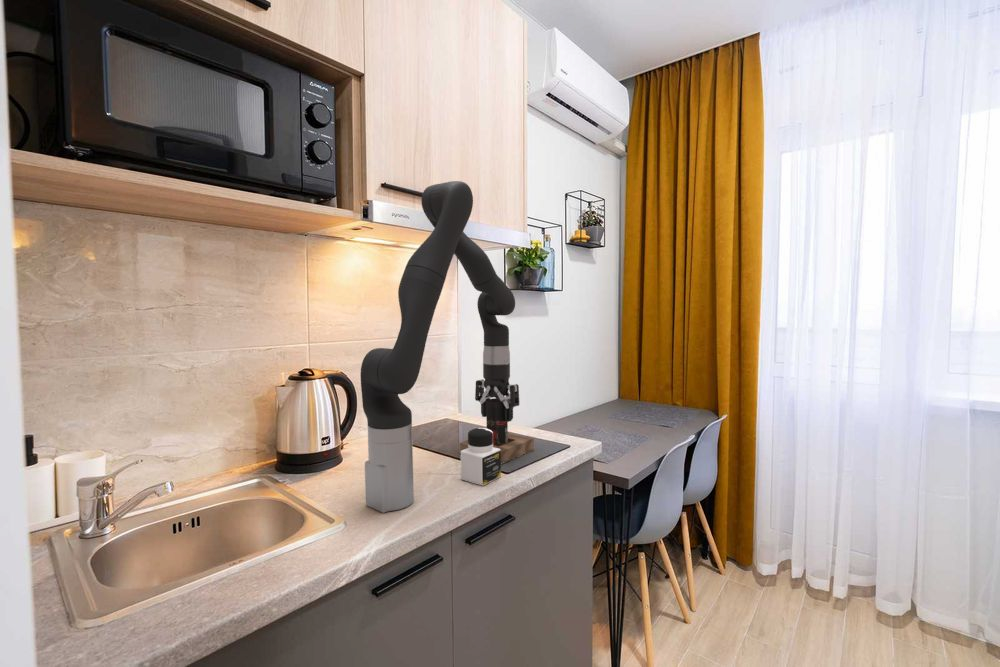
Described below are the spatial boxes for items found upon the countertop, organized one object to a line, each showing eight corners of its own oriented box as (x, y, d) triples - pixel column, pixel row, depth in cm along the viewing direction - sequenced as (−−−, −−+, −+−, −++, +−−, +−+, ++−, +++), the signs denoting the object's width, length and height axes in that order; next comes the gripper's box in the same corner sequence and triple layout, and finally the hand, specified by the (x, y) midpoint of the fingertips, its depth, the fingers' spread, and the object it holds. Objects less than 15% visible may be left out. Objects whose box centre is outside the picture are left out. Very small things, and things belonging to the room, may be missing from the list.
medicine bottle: (483, 486, 109) (482, 435, 108) (460, 479, 114) (459, 430, 113) (501, 477, 115) (501, 428, 114) (479, 470, 119) (478, 424, 118)
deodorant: (487, 449, 136) (486, 398, 135) (508, 449, 136) (507, 398, 135) (486, 456, 130) (485, 402, 129) (507, 456, 130) (507, 402, 129)
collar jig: (498, 466, 123) (498, 452, 122) (459, 455, 131) (459, 442, 131) (534, 450, 135) (533, 438, 135) (496, 441, 144) (496, 430, 143)
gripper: (468, 361, 133) (469, 417, 134) (508, 365, 124) (508, 425, 125) (486, 358, 139) (486, 412, 140) (525, 362, 130) (525, 420, 131)
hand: (496, 418), depth 132 cm, fingers open, 8 cm apart
